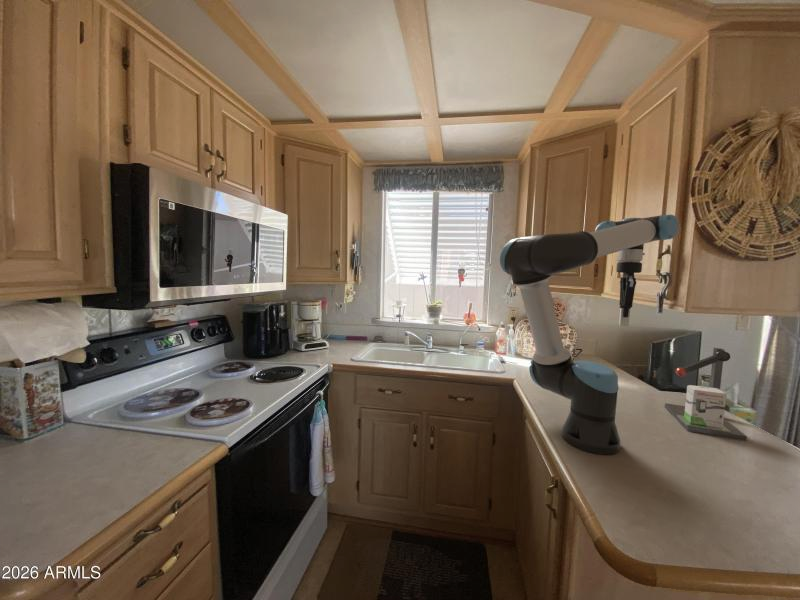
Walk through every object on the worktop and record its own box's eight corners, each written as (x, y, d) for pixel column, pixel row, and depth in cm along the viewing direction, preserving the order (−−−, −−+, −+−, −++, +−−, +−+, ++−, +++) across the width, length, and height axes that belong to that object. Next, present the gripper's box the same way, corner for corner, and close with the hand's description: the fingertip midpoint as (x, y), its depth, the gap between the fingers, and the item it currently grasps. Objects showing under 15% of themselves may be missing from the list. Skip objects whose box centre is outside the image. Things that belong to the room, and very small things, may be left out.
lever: (733, 359, 111) (727, 349, 111) (681, 379, 117) (674, 370, 118) (728, 356, 114) (722, 348, 114) (677, 376, 120) (671, 368, 120)
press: (746, 441, 99) (755, 362, 97) (687, 430, 105) (694, 356, 103) (712, 414, 119) (720, 347, 116) (664, 406, 124) (670, 343, 122)
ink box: (690, 423, 106) (693, 389, 105) (683, 417, 111) (686, 384, 110) (723, 428, 103) (727, 393, 102) (714, 422, 108) (718, 388, 107)
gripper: (647, 261, 109) (640, 329, 111) (637, 262, 121) (631, 324, 123) (621, 260, 112) (615, 327, 114) (613, 262, 124) (608, 322, 126)
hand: (623, 325), depth 119 cm, fingers closed
